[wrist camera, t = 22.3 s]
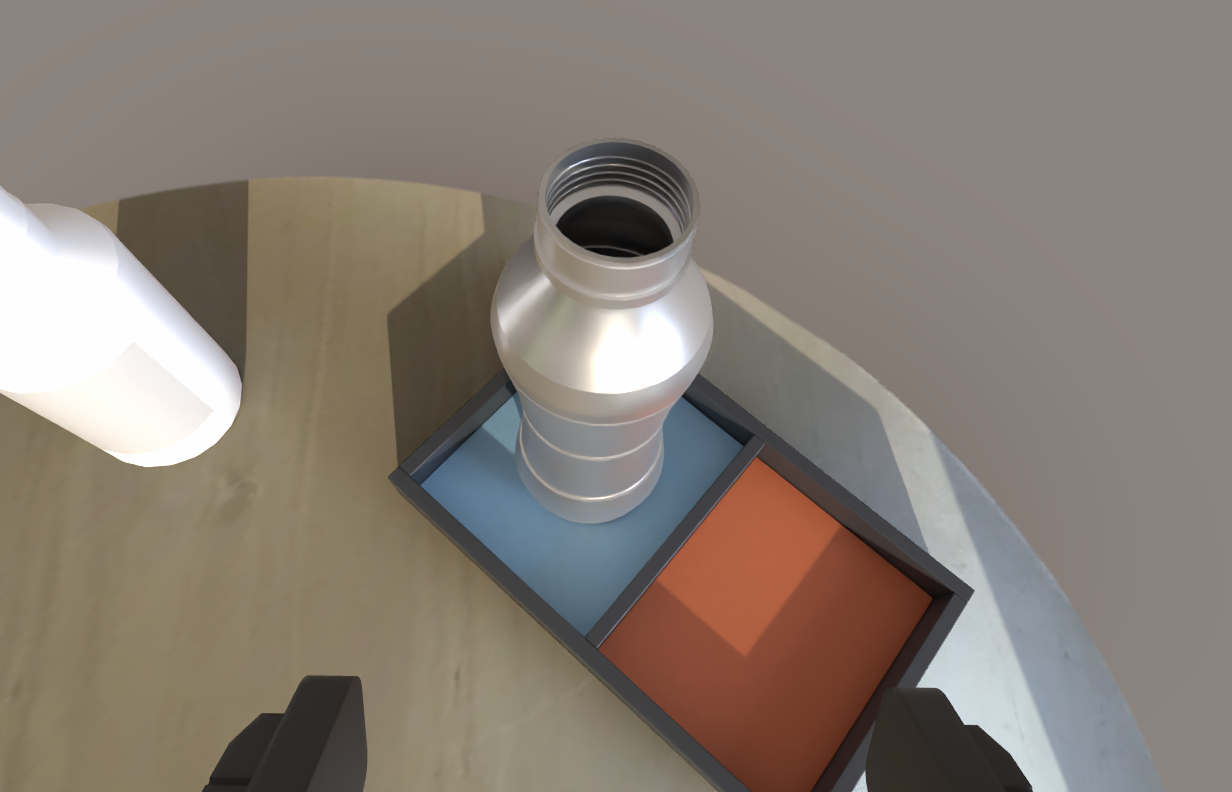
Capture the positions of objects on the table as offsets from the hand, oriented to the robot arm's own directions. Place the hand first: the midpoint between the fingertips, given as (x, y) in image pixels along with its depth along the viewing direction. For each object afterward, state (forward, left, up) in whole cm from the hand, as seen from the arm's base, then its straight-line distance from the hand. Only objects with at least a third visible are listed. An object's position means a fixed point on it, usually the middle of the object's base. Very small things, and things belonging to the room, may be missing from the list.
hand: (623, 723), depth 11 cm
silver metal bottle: (+7, -8, -21) cm, 24 cm away
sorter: (+1, -8, -22) cm, 23 cm away
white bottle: (+24, +3, -22) cm, 33 cm away
